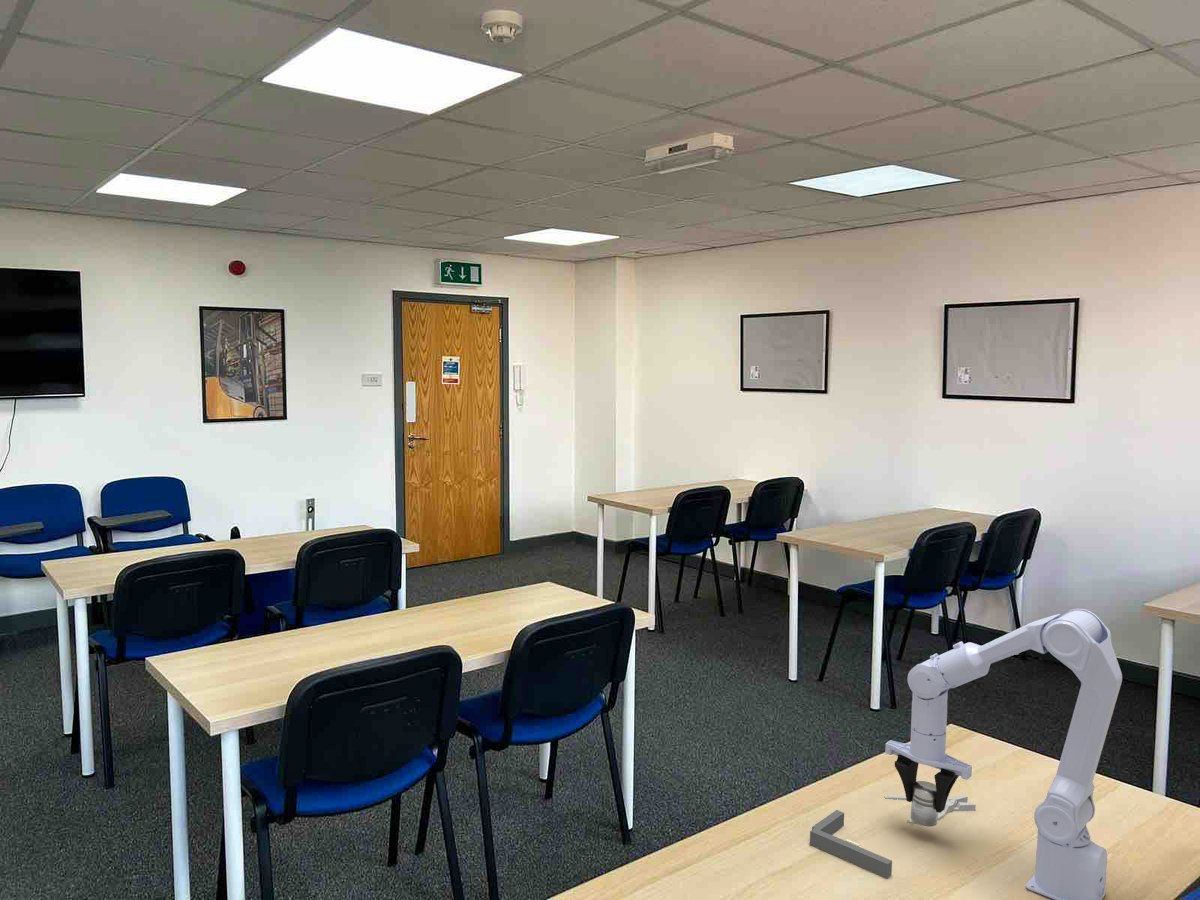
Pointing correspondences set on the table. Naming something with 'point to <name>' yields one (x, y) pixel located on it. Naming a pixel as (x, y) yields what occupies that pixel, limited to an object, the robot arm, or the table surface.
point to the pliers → (951, 805)
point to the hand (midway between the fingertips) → (925, 805)
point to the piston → (924, 804)
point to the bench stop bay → (847, 846)
